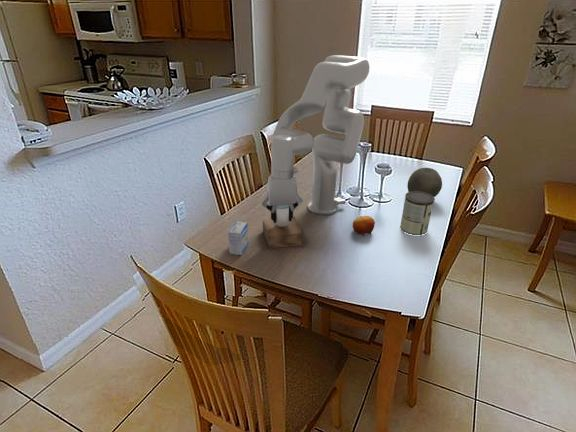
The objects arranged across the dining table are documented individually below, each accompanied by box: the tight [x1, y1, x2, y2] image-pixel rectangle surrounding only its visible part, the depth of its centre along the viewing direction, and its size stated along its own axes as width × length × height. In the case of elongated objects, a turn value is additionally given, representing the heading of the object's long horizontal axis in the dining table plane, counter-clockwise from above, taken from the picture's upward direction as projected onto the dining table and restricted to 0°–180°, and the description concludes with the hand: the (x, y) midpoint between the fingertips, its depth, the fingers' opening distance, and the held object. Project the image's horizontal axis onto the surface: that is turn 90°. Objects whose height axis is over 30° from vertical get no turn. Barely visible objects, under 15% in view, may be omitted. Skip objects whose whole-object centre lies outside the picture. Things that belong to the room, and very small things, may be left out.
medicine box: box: [227, 221, 249, 256], centre depth 128 cm, size 8×4×9 cm, turn 168°
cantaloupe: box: [406, 167, 443, 198], centre depth 163 cm, size 14×14×15 cm
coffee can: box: [399, 191, 435, 235], centre depth 140 cm, size 10×10×14 cm
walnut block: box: [262, 216, 303, 249], centre depth 135 cm, size 12×12×5 cm
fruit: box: [352, 215, 376, 237], centre depth 139 cm, size 8×8×8 cm
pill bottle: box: [275, 204, 290, 227], centre depth 131 cm, size 5×5×8 cm
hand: (281, 219), depth 133 cm, fingers closed on pill bottle, 5 cm apart
